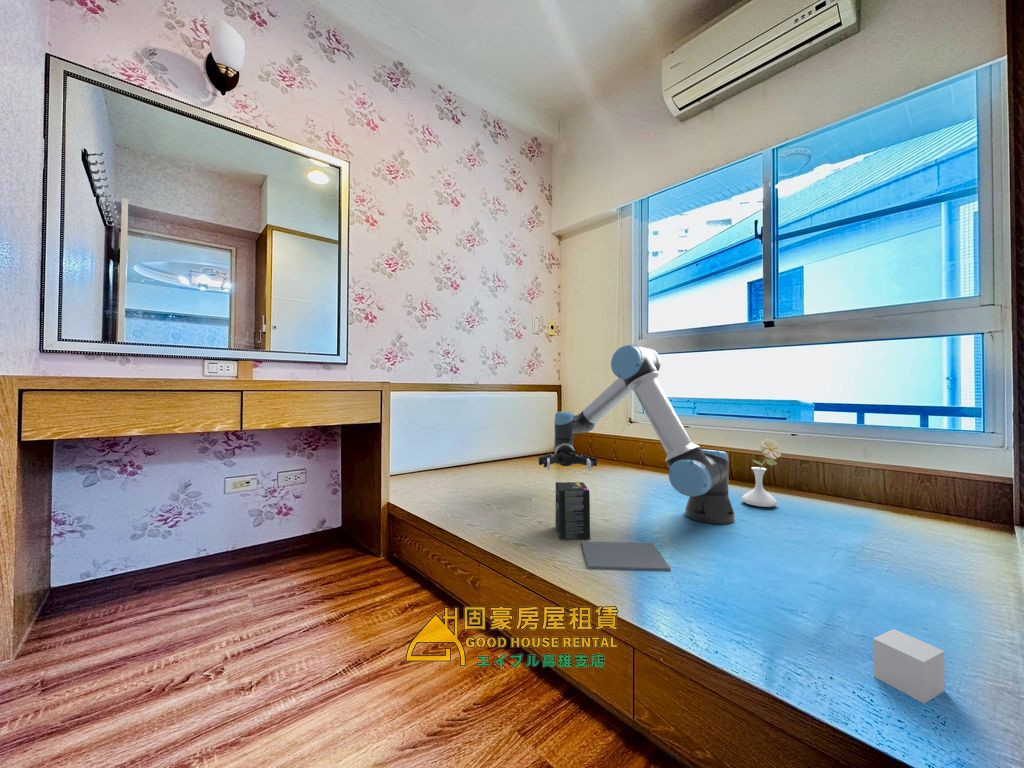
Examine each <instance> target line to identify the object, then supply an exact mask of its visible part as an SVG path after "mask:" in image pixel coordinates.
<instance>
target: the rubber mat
mask: <svg viewBox="0 0 1024 768" xmlns="http://www.w3.org/2000/svg"><path fill="white" fill-rule="evenodd" d="M581 547H582V551H583V554H584V558H585V562H587V563H586V566H588V567H587V569H588V568H597V569H596V570H623V569H643V570H642V571H661V570H662V571H663V570H666V572H667V571H670V572H671V571H672V570H671V569H672V567H670V565H669V564H668V562H667V561H666V560H665V558H664V557H663V556H662V554H661V553H660V551H659V550H658V548H657V546H656V545H655V544H654V543H653V542H628V541H627V542H625V541H624V542H623V541H622V542H621V541H583V540H582V541H581ZM598 568H599V569H598Z"/></svg>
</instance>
